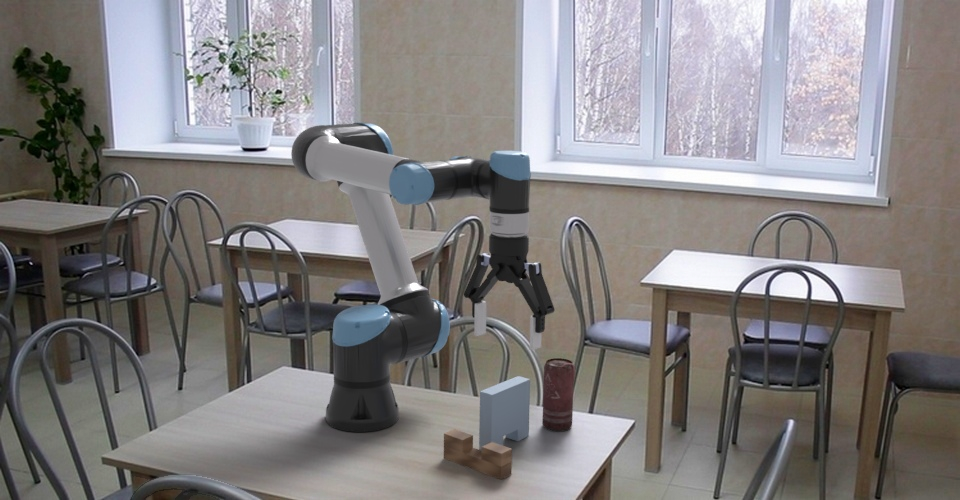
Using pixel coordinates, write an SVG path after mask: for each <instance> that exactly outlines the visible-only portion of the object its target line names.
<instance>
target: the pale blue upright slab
mask: <svg viewBox="0 0 960 500" xmlns="http://www.w3.org/2000/svg"><path fill="white" fill-rule="evenodd" d="M530 399H531V379H530V378H528V377H524V376H520V375H517V376H515V377H513V378H510V379H507V380H505V381H502V382H499V383H498V384H494V385H492V386H489V387H487V388H485V389H483V390H481V391H479V425H478V426H479V427H478V428H479V429H478V431H479V433H478V436H479V437H478V442H479V443H478V450H480V451H482V446H484V445H486V444H489V443H491V442H494V443H497V444H500V445H503V446H504V437H505V438H507V439H509V440H512V441H516V442H519V441H521V440H523V439H526V438H527V437H529V436H530V401H531V400H530Z"/></svg>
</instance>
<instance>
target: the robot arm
mask: <svg viewBox="0 0 960 500" xmlns="http://www.w3.org/2000/svg"><path fill="white" fill-rule="evenodd" d="M290 154H291V161H292V163H293V166H294V168H295V169H296V171H297V172H298V173H299V174H300V175H302V176H304V178H305V177H306V178H308V179H310V180H315V181H317V182H322V183H323V182H330V181H332V180H333V181H336V184H337V185H338V189H339V191H341V192H342V193H344V194H346V195H347V196H348V198H349V201H350V205H351V207H352V211H353V213H354V216H355V219H356V222H357V226H358V229H359V233H360V235H361V238H362V242H363V245H364V247H365V251H366V254H367V256H368V261H369V263H370V266H371V269H372V270H371V271H372V273H373V275H374V278H375V282H376V286H377V288H378V290H379V293H380V298H379V301H378V302H377V303H369V304H368V303H367V304H365V305H363V304H360V305H359V304H358V305H354V306H351V307H347V308H345V309H344V310H342V311H340V312H339V313H338V314H337V315H336V316H335V317H334V320H333V326H332V327H333V329H332V334H331V335H332V336H331V339H332V348H333V349H332V351H333V352H332V353H333V355H332V356H333V360H332V361H333V386H332V390H331V393H330V398H329V402H328V403H327V406H326V408H325V421H326V423H327V424H328V426H330V427H331V428H334V429H336V430H339V431H345V432H353V433H354V432H356V433H365V432H367V433H368V432H374V431H380V430H384V429H387V428H389V427H391V426H393V425H394V424H396V423H397V422H398V420H399V417H400V416H399V415H400V414H399V412H400V411H399V410H400V409H399V405H398V403H397V400H396V396H395V393H394V390H393V388H392V384H391V366H392V365H396V364H397V365H398V364H400V363H403V362H404V363H405V362H408V361H411V360H416V359H419V358H426V357H427V356H430V355H432V354H435V353H437V352H438V353H439V351H441V350H442V349H443V348H444V346H445V345H446V344H447V341H448V338H449V335H450V332H451V331H450V330H451V323H450V316H449V314H448V310H447V308H446V306H445V305H444V304H443V303H441V301H439V300H437V299H434V298H431V294H430V293H429V289H428V288H426V287H425V286H423V285H421V284H420V283H419V281H418V278H417V274H416V272H415V269H414V265H413V262H412V260H411V256H410V254H409V253H410V252H409V251H408V247H407V244H406V241H405V239H404V236H403V232H402V229H401V226H400V223H399V220H398V217H397V214H396V210H395V207H394V205H393V202H392V199H391V196H392V197H393V198H394V199H395V201H396V202H397V203H398V204H400V205H404V206H409V205H413V206H414V205H415V206H418V205H422V204H427V203H435V202H440V201H450V200H457V199H464V198H465V199H466V198H477V199H478V198H479V199H485V200H489V224H488V225H489V228H488V229H489V231H490V234H489V236H488V252H489V253H488V252H483V253H480V254H478V255H477V256H476V262H475V264H476V265H475V267H474V269H473V270H472V271H473V272H472V273H471V276H470V278H469V281H468V283H467V286H466V287H465V290H464V292H463V297H464V298H466V299H469V300H470V301H471V315H472V318H474V320H473V321H474V322H473V323H474V324H473V325H474V327H473V329H474V331H473V332H474V337H480V336H482V335H486V334H487V301H485V297H486V296H487V295H488V294H489V292H490V291H491V290H492V288H493V287H494V286H495V285H496V284H497V283H498V282H506V283H509V284H513V285H514V286H515V287H516V288H518V290H519V292H520V293H521V295H522V297H523V299H524V300H525V302H526V303H527V305H528V307H529V308H530V310H531V313H532V315H530V316H529V317H530V318H529V319H530V320H529V350H530V351H534V350H537V349H540V348H542V333H543V332H545V330H546V329H545V327H546V324H545V323H546V316H547V315H550V314H553V313H554V312H555V307H554V304H553V302H552V298H551V296H550V293H549V290H548V286H547V285H546V281H545V279H544V276H543V269H542V263H541V262H540V261H536V262H528V260H527V257H528V254H529V249H530V247H529V245H530V243H529V242H530V241H529V239H530V238H529V237H530V236H529V235H528V233H529V231H530V194H531V193H530V191H531V189H530V188H531V178H532V173H531V162H530V161H531V160H530V159H531V158H530V156H529V154H528V153H527V152H525V151H521V150H495V151H493V152H491V153H490V156H489V159H486V158H479V157H478V158H477V157H472V156H470V155H465V156H463V155H462V156H460V155H459V156H458V155H455V156H452V157H451V158H449V159H443V160H437V161H436V160H435V161H421V160H417V159H411V158H408V157H402V156H399V155H395V154H394V149H393V144H392V142H391V139H390V138H389V135H388V134H387V133H386V131H385V130H384V129H383V128H381V127H380V126H379V125H376V124H374V123H366V122H365V123H364V122H353V123H343V124H326V125H325V124H323V125H322V124H320V125H314V126H311V127H309V128H306V129H304V130H303V131H302V132H300V133H299V134H298V136H297V137H296V138H295V140H294V141H293V144H292V146H291V153H290ZM489 266H490V268H491V270H490V271H489V273H488V274H487V275H486V272H487V270H488V267H489ZM485 275H486V278H485V279H484V277H485ZM528 275H529V276H528ZM483 279H484V280H483Z"/></svg>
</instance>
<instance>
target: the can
mask: <svg viewBox="0 0 960 500" xmlns="http://www.w3.org/2000/svg"><path fill="white" fill-rule="evenodd" d="M575 369H576V367H575V364H573V361H572V360H570V359H567V358H559V357H558V358H555V357H554V358H549V359H548V360H546V361H545V364H544V366H543V395H542V396H543V398H542V425H543V427H544V429H546V430H547V431H551V432H567V431H568V430H570V429H571V428H572V426H573V411H574V408H573V407H574V383H575V378H576V376H575V375H576V370H575Z"/></svg>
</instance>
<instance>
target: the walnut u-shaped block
mask: <svg viewBox="0 0 960 500" xmlns="http://www.w3.org/2000/svg"><path fill="white" fill-rule="evenodd" d="M512 456H513V449H512V448H510V447H508V446H505V445H504V444H503V445H500V444H497V443H494V442H491V443H489V444H486V445H484V446H482V451H481V450H479V448H478V449H477V448H474V435H473V434H470V433H467V432H464V431H462V430H458V429H456V428H453V429H452V430H449V431H447V432H444V433H443V459H444V460H448V461H450V462H452V463H455V464H458V465H460V466H463V467H466V468H468V469H472V470H475V471H477V472H480V473H482V474H486V475H487V476H490V477H493V478H496V479H499V480H503V479H505V478H507V477H509V476H511V475H512V464H513V463H512V461H513V457H512Z"/></svg>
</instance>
